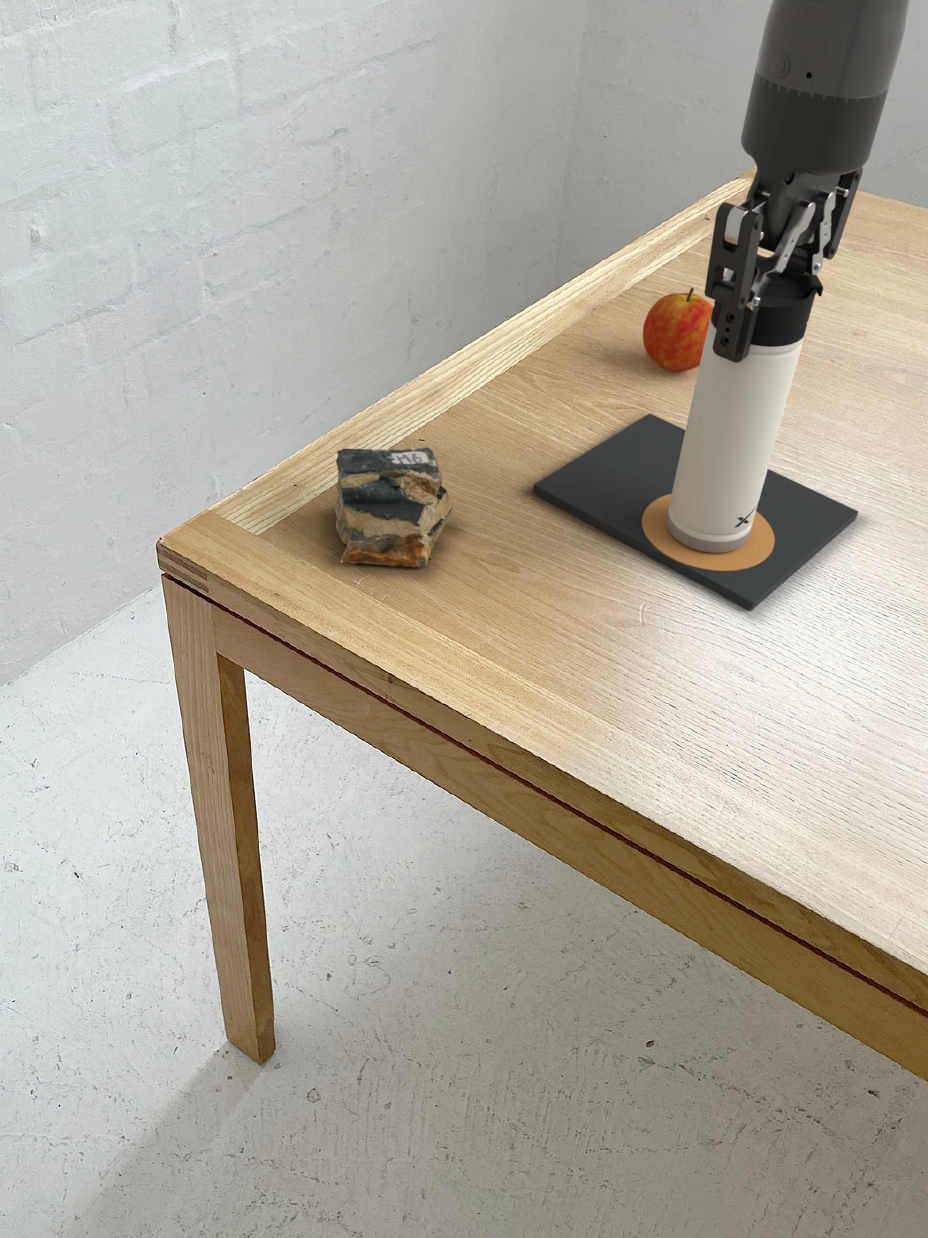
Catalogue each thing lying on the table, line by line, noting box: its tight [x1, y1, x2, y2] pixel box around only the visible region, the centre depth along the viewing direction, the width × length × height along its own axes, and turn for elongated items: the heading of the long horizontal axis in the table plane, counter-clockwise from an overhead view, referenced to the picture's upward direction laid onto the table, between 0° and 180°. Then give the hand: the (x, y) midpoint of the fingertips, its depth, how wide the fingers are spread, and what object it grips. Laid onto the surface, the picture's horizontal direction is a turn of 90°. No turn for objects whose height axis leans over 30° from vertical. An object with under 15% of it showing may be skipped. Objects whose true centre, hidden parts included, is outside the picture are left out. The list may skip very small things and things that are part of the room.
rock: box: [334, 446, 454, 568], centre depth 82 cm, size 9×9×6 cm
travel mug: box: [666, 267, 824, 553], centre depth 79 cm, size 6×7×20 cm
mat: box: [532, 413, 859, 612], centre depth 89 cm, size 20×16×1 cm
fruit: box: [642, 287, 714, 373], centre depth 104 cm, size 7×7×8 cm
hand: (756, 339), depth 75 cm, fingers closed on travel mug, 6 cm apart
